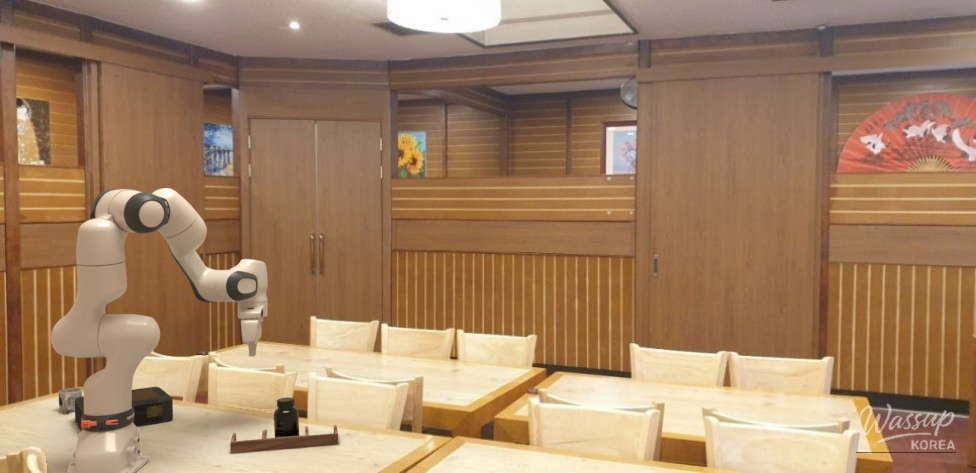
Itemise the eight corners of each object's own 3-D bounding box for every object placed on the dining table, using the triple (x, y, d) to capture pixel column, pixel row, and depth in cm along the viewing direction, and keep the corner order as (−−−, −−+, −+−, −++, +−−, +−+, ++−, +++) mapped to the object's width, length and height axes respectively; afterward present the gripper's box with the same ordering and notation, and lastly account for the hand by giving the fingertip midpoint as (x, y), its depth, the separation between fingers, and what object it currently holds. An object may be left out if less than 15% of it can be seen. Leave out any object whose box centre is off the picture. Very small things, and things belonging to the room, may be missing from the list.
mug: (62, 408, 245) (61, 388, 245) (84, 406, 247) (83, 387, 247) (54, 416, 235) (53, 395, 235) (77, 414, 237) (76, 394, 237)
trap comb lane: (338, 444, 206) (338, 434, 206) (230, 453, 199) (230, 442, 199) (334, 425, 224) (334, 416, 224) (235, 433, 217) (235, 423, 216)
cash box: (159, 407, 246) (158, 385, 246) (174, 421, 230) (173, 397, 230) (74, 420, 231) (73, 396, 231) (83, 436, 215) (83, 410, 215)
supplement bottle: (285, 436, 214) (284, 395, 214) (304, 439, 211) (303, 397, 211) (269, 443, 208) (268, 400, 207) (288, 446, 205) (287, 403, 204)
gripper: (245, 309, 237) (245, 352, 237) (237, 313, 217) (237, 360, 217) (266, 308, 238) (266, 351, 238) (260, 313, 218) (260, 359, 218)
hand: (252, 356), depth 227 cm, fingers closed
